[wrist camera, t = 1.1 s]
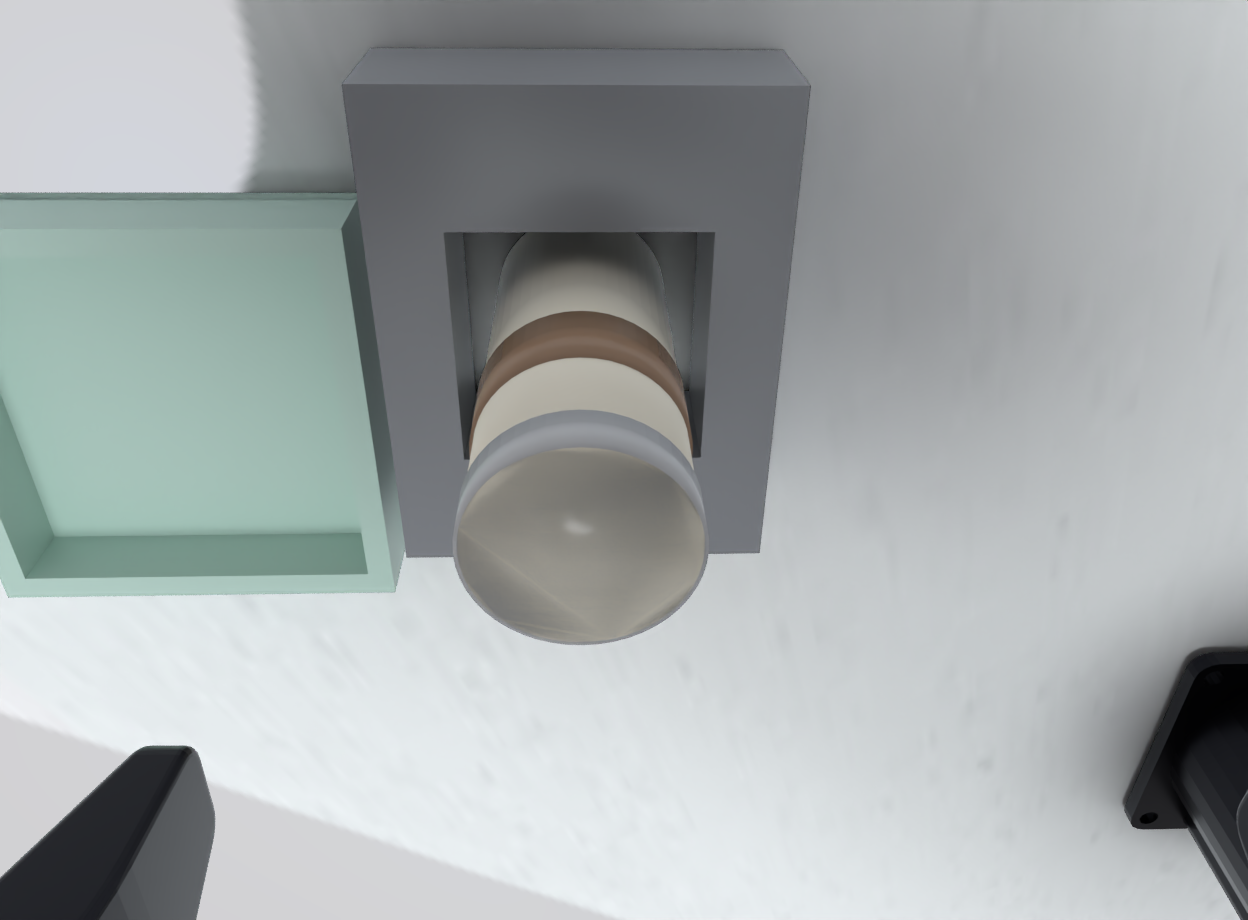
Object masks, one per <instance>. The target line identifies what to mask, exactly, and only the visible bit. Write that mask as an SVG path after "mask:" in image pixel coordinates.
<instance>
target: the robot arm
mask: <svg viewBox="0 0 1248 920" xmlns="http://www.w3.org/2000/svg"><path fill="white" fill-rule="evenodd" d="M1124 811H1125V813H1126V815H1127V817H1128V819H1129V821H1130V823H1131V824H1132V826H1133V827H1135V828H1137V829H1182V828H1188V830H1189V831H1190V833H1191V835H1192V836H1193V838H1194V840H1195V842H1196V843H1197V845H1198V847H1199V849H1200V850H1201V852H1202V854H1203V855H1204V857H1205V859H1206V861H1207V862H1208V864H1209V866H1210V867H1211V869H1212V871H1213V873H1214V874H1215V876H1216V878H1217V879H1218V881H1219V883H1220V885H1221V886H1222V888H1223V890H1224V892H1225V893H1226V895H1227V897H1228V898H1229V900H1230V902H1231V904H1232V905H1233V907H1234V909H1235V910H1236V912H1237V914H1238V916H1239V917H1240V919H1241V920H1248V652H1223V653H1207V654H1203V655H1201V656H1198V657H1196V658H1195V659H1194V660H1192V661H1191V662H1190V663H1189V665H1188V666H1187V668H1186V670H1185V672H1184V675H1183V677H1182V679H1181V681H1180V684H1179V686H1178V688H1177V690H1176V693H1175V695H1174V697H1173V699H1172V702H1171V704H1170V706H1169V708H1168V711H1167V713H1166V715H1165V717H1164V720H1163V722H1162V724H1161V726H1160V729H1159V731H1158V733H1157V735H1156V738H1155V740H1154V742H1153V744H1152V747H1151V749H1150V751H1149V753H1148V756H1147V758H1146V760H1145V762H1144V765H1143V767H1142V769H1141V772H1140V774H1139V776H1138V778H1137V781H1136V783H1135V785H1134V787H1133V790H1132V792H1131V794H1130V796H1129V799H1128V801H1127V803H1126V805H1125V810H1124ZM214 832H215V811H214V807H213V803H212V799H211V796H210V792H209V789H208V786H207V782H206V778H205V775H204V771H203V767H202V764H201V760H200V758H199V755H198V753H197V752H196V751H195V749H193V748H192V747H189V746H146V747H143V748H141V749H139V750H137V751H135V752H134V753H133V754H132V755H130V756H129V757H128V758H127V759H126V760H125V761H124V762H123V763H122V764H121V765H120V766H119V767H118V768H117V769H116V770H114V771H113V772H112V773H111V774H110V775H109V776H108V777H107V778H106V779H105V780H104V781H103V782H102V783H101V784H100V785H98V786H97V787H96V788H95V789H94V790H93V791H92V792H91V793H90V794H89V795H88V796H87V797H86V798H85V799H83V800H82V801H81V802H80V803H79V804H78V805H77V806H76V807H75V808H74V809H73V810H72V811H71V812H70V813H69V814H68V815H66V816H65V817H64V818H63V819H62V820H61V821H60V822H59V823H58V824H57V825H56V826H55V827H54V828H53V829H52V830H51V831H49V832H48V833H47V834H46V835H45V836H44V837H43V838H42V839H41V840H40V841H39V842H38V843H37V844H36V845H34V847H32V848H31V849H30V850H29V851H28V852H27V853H26V854H25V855H24V856H23V857H22V858H21V859H20V860H19V861H17V862H16V863H15V864H14V865H13V866H12V867H11V868H10V869H9V870H8V871H7V872H6V873H5V874H4V875H3V876H1V878H0V920H196V917H197V913H198V908H199V904H200V899H201V894H202V890H203V885H204V881H205V876H206V872H207V867H208V862H209V858H210V853H211V849H212V844H213V839H214Z"/></svg>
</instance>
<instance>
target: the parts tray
mask: <svg viewBox="0 0 1248 920" xmlns="http://www.w3.org/2000/svg"><path fill="white" fill-rule="evenodd" d="M404 552H405V542H404V535H403V528H402V520H401V513H400V506H399V499H398V491H397V484H396V477H395V469H394V462H393V455H392V447H391V440H390V433H389V426H388V418H387V411H386V404H385V396H384V389H383V382H382V374H381V367H380V360H379V353H378V345H377V338H376V331H375V323H374V316H373V309H372V302H371V294H370V287H369V280H368V272H367V265H366V258H365V250H364V243H363V236H362V229H361V221H360V214H359V207H358V199H357V193H0V579H1V582H2V584H3V586H4V589H5V591H6V593H7V596H8V598H9V597H82V596H155V595H228V594H301V593H374V592H395V591H396V586H397V582H398V578H399V573H400V569H401V565H402V560H403V556H404Z"/></svg>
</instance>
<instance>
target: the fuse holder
mask: <svg viewBox="0 0 1248 920" xmlns="http://www.w3.org/2000/svg"><path fill="white" fill-rule="evenodd" d="M810 88H811V85H810V84H809V83H808V82H807V80H806V79H805V78H804V76H803V75H802V74H801V72H800V71H799V70H798V68H797V67H796V66H795V65H794V63H793V62H792V61H791V59H790V58H789V57H788V55H787V54H786V53H785V51H784V50H719V49H523V48H370V49H369V51H368V52H367V53H366V54H365V56H364V57H363V58H362V59H361V61H360V62H359V63H358V64H357V66H356V67H355V68H354V69H353V71H352V72H351V73H350V74H349V76H348V77H347V78H346V79H345V80H344V82H343V83H342V90H343V97H344V105H345V112H346V119H347V126H348V134H349V141H350V148H351V156H352V163H353V170H354V177H355V185H356V192H357V199H358V207H359V214H360V221H361V229H362V236H363V243H364V250H365V258H366V265H367V272H368V280H369V287H370V294H371V302H372V309H373V316H374V323H375V331H376V338H377V345H378V353H379V360H380V367H381V374H382V382H383V389H384V396H385V404H386V411H387V418H388V426H389V433H390V440H391V447H392V455H393V462H394V469H395V477H396V484H397V491H398V499H399V506H400V513H401V520H402V528H403V535H404V542H405V550H406V557H407V558H409V557H453V533H454V527H455V521H456V515H457V509H458V503H459V498H460V492H461V488H462V485H463V482H464V478H465V476H466V474H467V472H468V467H469V461H470V455H469V441H470V434H471V428H472V422H473V416H474V410H475V405H476V399H477V393H476V389H475V377H474V364H473V351H472V339H471V326H470V314H469V301H468V288H467V276H466V263H465V251H464V238H463V232H698V235H697V254H696V272H695V290H694V309H693V327H692V345H691V364H690V382H689V391H684V393H685V399H686V405H687V411H688V417H689V423H690V428H691V434H692V440H693V454H692V461H693V467H694V472H695V474H696V476H697V479H698V482H699V485H700V488H701V494H702V500H703V505H704V511H705V517H706V523H707V529H708V535H709V552H708V554H728V553H760V544H761V534H762V525H763V516H764V507H765V498H766V489H767V480H768V471H769V462H770V452H771V443H772V434H773V425H774V416H775V407H776V398H777V389H778V380H779V370H780V361H781V352H782V343H783V334H784V325H785V316H786V307H787V298H788V288H789V279H790V270H791V261H792V252H793V243H794V234H795V225H796V216H797V206H798V197H799V188H800V179H801V170H802V161H803V152H804V143H805V134H806V124H807V115H808V106H809V97H810Z"/></svg>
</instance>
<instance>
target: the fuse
mask: <svg viewBox="0 0 1248 920" xmlns="http://www.w3.org/2000/svg"><path fill="white" fill-rule="evenodd" d="M692 454H693V440H692V434H691V428H690V423H689V417H688V411H687V405H686V399H685V393H684V387H683V382H682V379H681V376H680V373H679V370H678V368H677V364H676V357H675V351H674V345H673V339H672V333H671V327H670V321H669V315H668V309H667V303H666V296H665V290H664V284H663V278H662V273H661V270H660V267H659V264H658V262H657V259H656V257H655V255H654V254H653V252H652V251H651V249H650V248H649V246H648V245H647V244H646V243H645V242H644V240H643V239H642V238H641V237H640V236H639V235H637V234H636V233H635V232H527V233H525V234H524V235H523V236H522V237H521V238H520V239H519V240H518V241H517V242H516V244H515V245H514V246H513V248H512V249H511V251H510V252H509V254H508V255H507V258H506V260H505V262H504V264H503V268H502V271H501V275H500V281H499V287H498V293H497V299H496V305H495V311H494V317H493V323H492V329H491V335H490V341H489V347H488V353H487V359H486V365H485V368H484V370H483V372H482V375H481V379H480V382H479V387H478V393H477V399H476V405H475V410H474V416H473V422H472V428H471V434H470V441H469V455H470V461H469V467H468V472H467V474H466V476H465V478H464V482H463V485H462V488H461V492H460V498H459V503H458V509H457V515H456V521H455V527H454V533H453V557H454V562H455V567H456V569H457V572H458V575H459V578H460V580H461V582H462V583H463V585H464V587H465V589H466V591H467V592H468V593H469V595H470V596H471V597H472V599H473V600H474V601H475V602H476V603H477V604H478V605H479V606H480V607H481V608H482V609H483V610H484V611H485V612H486V613H487V614H489V615H490V616H491V617H492V618H494V619H495V620H496V621H498V622H500V623H501V624H503V625H505V626H506V627H508V628H510V629H512V630H514V631H516V632H519V633H521V634H523V635H526V636H529V637H532V638H535V639H539V640H543V641H547V642H552V643H559V644H567V645H591V644H602V643H608V642H614V641H618V640H621V639H625V638H629V637H632V636H634V635H637V634H640V633H642V632H644V631H646V630H648V629H650V628H652V627H654V626H656V625H658V624H659V623H661V622H662V621H664V620H666V619H667V618H669V617H670V616H671V615H672V614H673V613H675V612H676V611H677V610H678V609H679V608H680V607H681V606H682V605H683V604H684V603H685V602H686V601H687V600H688V599H689V597H690V596H691V595H692V593H693V592H694V590H695V589H696V587H697V586H698V584H699V582H700V580H701V578H702V576H703V573H704V570H705V567H706V564H707V559H708V552H709V535H708V529H707V523H706V517H705V511H704V505H703V500H702V494H701V488H700V485H699V482H698V479H697V476H696V474H695V472H694V467H693V461H692Z"/></svg>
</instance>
